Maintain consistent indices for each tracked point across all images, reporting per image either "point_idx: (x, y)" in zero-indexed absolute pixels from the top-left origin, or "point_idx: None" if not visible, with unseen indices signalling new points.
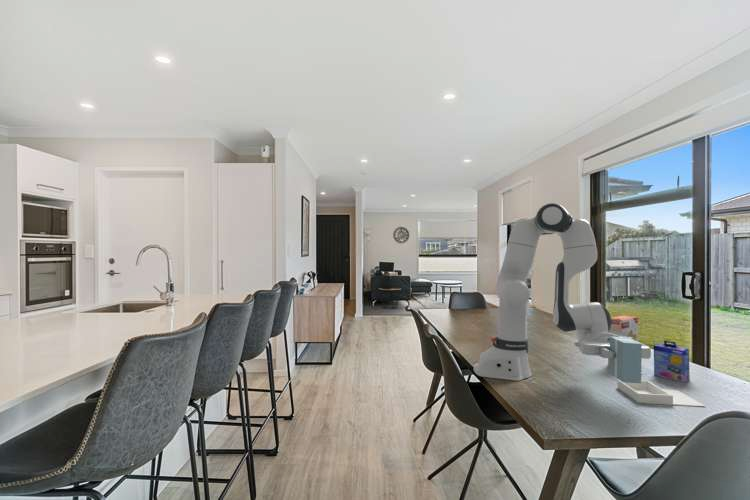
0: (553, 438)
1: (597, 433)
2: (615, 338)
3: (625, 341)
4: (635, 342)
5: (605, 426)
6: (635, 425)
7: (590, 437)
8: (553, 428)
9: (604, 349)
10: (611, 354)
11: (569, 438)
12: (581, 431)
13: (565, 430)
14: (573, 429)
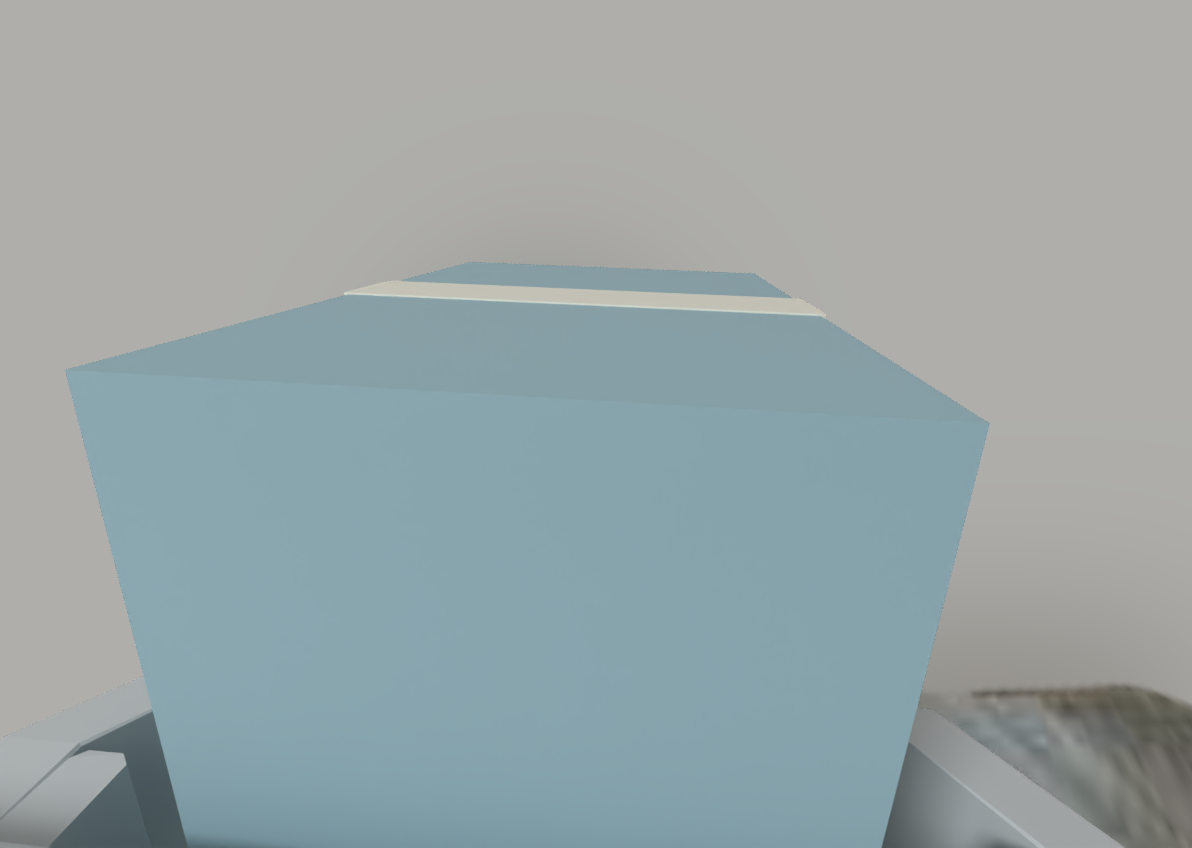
0: (1135, 689)
1: None
2: (800, 325)
3: (667, 281)
4: (510, 270)
5: None
6: None
7: (963, 697)
8: (1184, 775)
9: (1060, 809)
10: None
11: (1061, 689)
12: (1016, 747)
13: (1107, 755)
14: (1065, 766)
